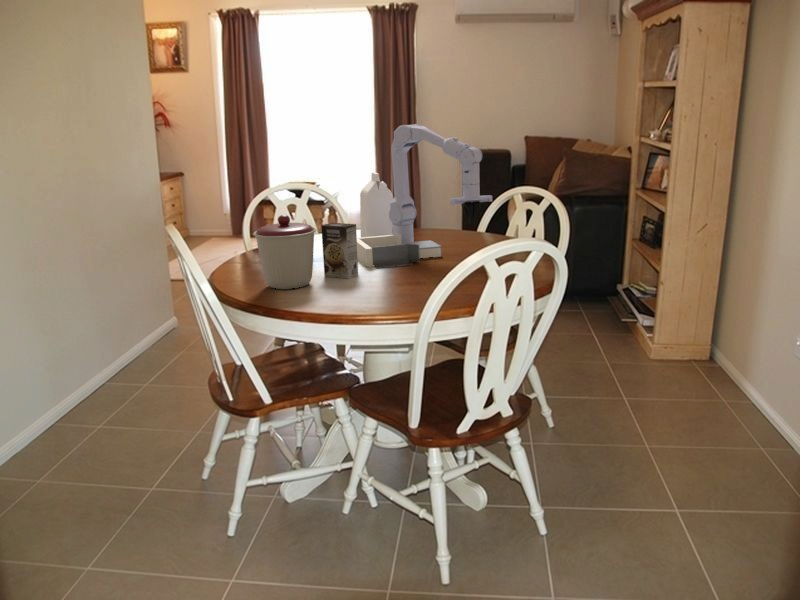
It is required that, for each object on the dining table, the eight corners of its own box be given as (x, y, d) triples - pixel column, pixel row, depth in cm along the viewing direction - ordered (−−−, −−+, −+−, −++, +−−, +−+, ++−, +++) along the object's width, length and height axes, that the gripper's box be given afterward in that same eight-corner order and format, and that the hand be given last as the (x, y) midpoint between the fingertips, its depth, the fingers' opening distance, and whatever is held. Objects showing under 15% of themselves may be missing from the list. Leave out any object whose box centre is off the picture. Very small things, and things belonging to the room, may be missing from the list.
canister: (246, 287, 211) (239, 217, 206) (293, 275, 224) (288, 208, 219) (284, 296, 200) (278, 222, 194) (332, 283, 212) (327, 213, 207)
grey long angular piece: (371, 265, 234) (370, 247, 233) (417, 260, 238) (416, 242, 237) (375, 268, 229) (374, 250, 227) (422, 263, 233) (421, 245, 231)
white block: (407, 253, 252) (406, 242, 251) (431, 251, 254) (431, 240, 253) (416, 260, 241) (416, 248, 240) (441, 257, 243) (441, 246, 242)
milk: (360, 239, 282) (357, 172, 275) (388, 236, 284) (385, 170, 277) (367, 244, 270) (363, 175, 263) (396, 241, 273) (393, 173, 266)
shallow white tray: (352, 254, 252) (351, 237, 251) (401, 250, 257) (400, 233, 255) (367, 267, 232) (366, 249, 230) (419, 262, 236) (418, 244, 235)
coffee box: (323, 276, 221) (320, 225, 217) (334, 272, 227) (331, 222, 222) (348, 279, 217) (345, 226, 213) (359, 274, 222) (356, 223, 218)
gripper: (454, 186, 233) (455, 227, 237) (495, 183, 237) (496, 224, 240) (447, 184, 240) (448, 224, 243) (487, 181, 243) (487, 221, 247)
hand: (471, 224), depth 242 cm, fingers closed
